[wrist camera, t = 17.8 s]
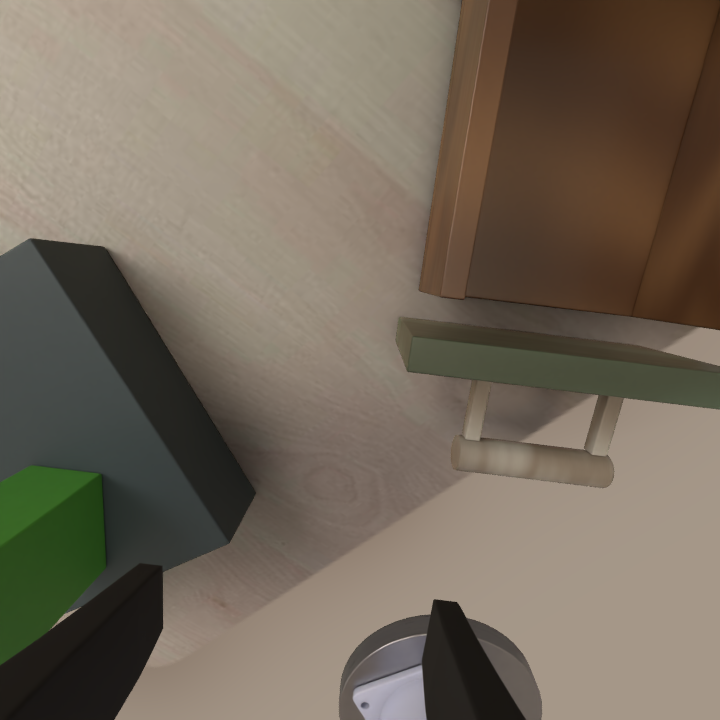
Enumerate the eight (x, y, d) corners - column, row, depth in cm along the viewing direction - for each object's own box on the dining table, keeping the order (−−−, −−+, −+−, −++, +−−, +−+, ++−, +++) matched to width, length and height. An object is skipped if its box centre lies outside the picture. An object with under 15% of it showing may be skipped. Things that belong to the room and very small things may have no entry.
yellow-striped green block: (107, 567, 17) (-14, 700, 12) (40, 559, 17) (-110, 687, 12) (102, 473, 16) (-33, 571, 11) (31, 464, 16) (-140, 558, 11)
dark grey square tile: (256, 493, 21) (229, 544, 17) (74, 574, 22) (11, 637, 18) (104, 246, 18) (29, 237, 14) (-91, 359, 19) (-208, 379, 15)
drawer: (607, 451, 18) (712, 528, 13) (383, 424, 18) (389, 489, 13) (775, -118, 13) (1076, -413, 8) (464, -153, 13) (533, -473, 8)
